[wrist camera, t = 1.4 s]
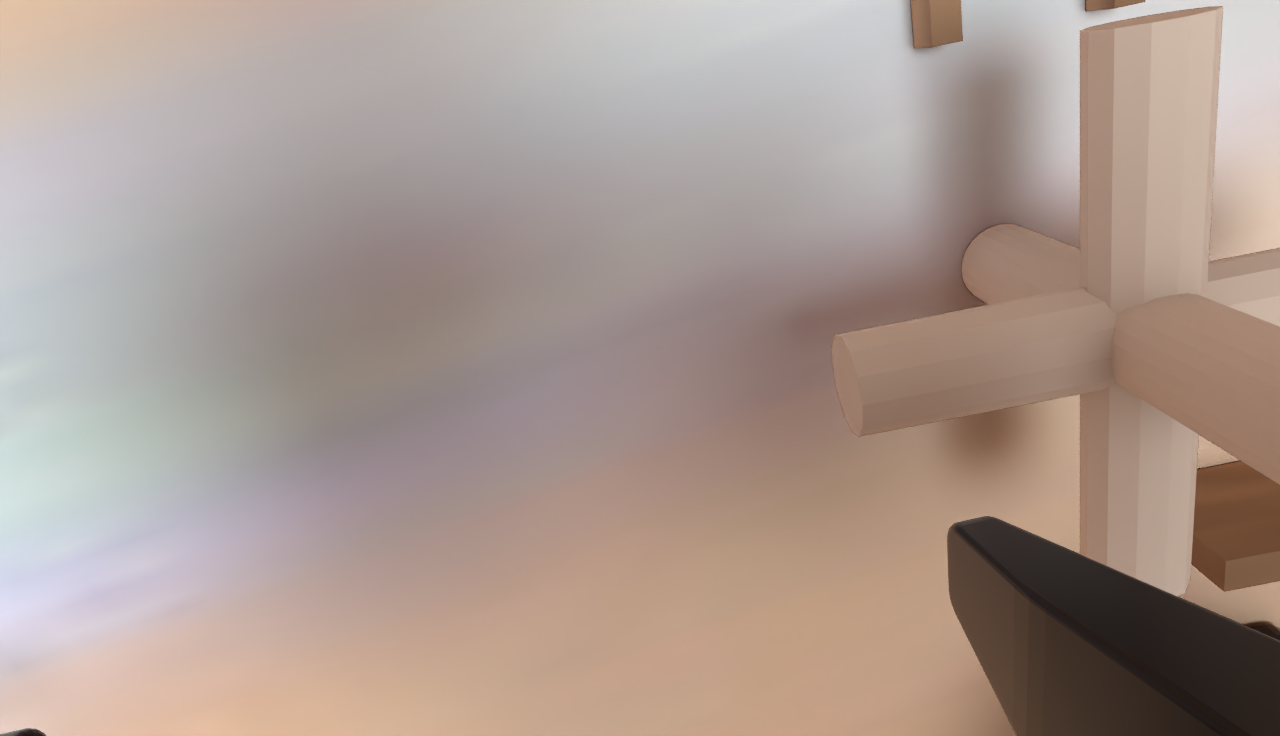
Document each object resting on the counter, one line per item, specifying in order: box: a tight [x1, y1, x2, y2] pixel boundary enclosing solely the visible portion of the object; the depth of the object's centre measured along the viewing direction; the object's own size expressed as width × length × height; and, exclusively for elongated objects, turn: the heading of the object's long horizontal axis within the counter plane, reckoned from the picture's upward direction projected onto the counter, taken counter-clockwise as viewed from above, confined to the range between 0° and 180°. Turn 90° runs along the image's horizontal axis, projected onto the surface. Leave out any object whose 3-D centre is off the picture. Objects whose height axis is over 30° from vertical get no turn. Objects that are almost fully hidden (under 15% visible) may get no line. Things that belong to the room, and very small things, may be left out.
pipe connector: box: [832, 6, 1280, 596], centre depth 14 cm, size 10×10×10 cm
